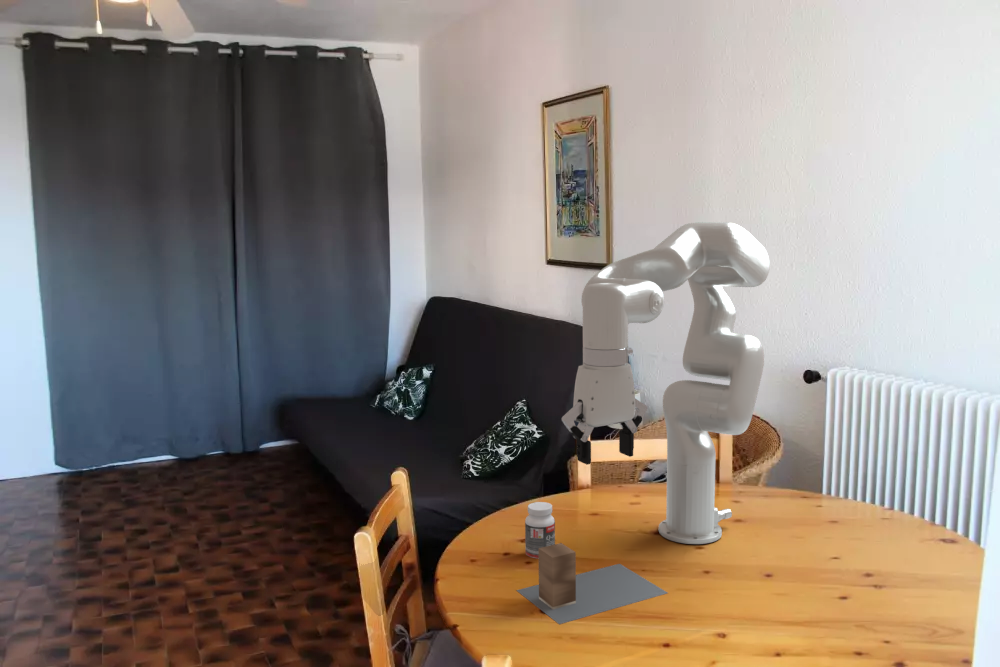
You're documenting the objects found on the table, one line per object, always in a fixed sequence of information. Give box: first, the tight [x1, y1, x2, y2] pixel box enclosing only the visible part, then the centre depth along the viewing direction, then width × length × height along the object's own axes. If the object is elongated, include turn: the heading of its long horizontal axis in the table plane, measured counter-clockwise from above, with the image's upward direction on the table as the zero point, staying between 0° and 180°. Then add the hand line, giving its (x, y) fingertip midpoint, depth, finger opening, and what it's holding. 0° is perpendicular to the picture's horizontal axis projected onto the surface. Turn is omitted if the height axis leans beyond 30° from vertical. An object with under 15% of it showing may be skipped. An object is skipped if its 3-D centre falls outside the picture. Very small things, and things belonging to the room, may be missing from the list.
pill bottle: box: [524, 501, 556, 559], centre depth 162 cm, size 6×6×10 cm
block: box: [538, 542, 577, 609], centre depth 141 cm, size 4×4×9 cm
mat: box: [515, 563, 669, 625], centre depth 145 cm, size 22×14×1 cm, turn 118°
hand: (605, 458), depth 143 cm, fingers open, 8 cm apart
